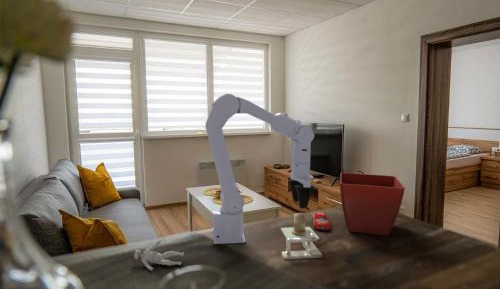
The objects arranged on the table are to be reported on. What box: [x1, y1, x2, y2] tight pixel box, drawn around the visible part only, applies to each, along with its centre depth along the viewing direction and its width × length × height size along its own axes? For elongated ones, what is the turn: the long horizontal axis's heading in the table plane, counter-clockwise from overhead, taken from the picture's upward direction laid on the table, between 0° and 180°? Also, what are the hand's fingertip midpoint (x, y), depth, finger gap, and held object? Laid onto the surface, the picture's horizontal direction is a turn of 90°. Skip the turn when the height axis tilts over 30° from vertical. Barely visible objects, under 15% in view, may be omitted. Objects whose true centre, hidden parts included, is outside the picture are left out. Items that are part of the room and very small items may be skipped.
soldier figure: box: [133, 240, 185, 271], centre depth 81 cm, size 8×5×12 cm
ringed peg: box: [292, 212, 307, 236], centre depth 102 cm, size 5×5×6 cm
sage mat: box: [280, 226, 320, 241], centre depth 102 cm, size 10×10×1 cm
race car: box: [311, 211, 331, 231], centre depth 111 cm, size 13×5×4 cm, turn 171°
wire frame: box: [281, 230, 323, 260], centre depth 89 cm, size 10×9×5 cm
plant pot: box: [339, 172, 406, 236], centre depth 108 cm, size 19×19×17 cm
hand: (299, 204), depth 101 cm, fingers open, 7 cm apart
